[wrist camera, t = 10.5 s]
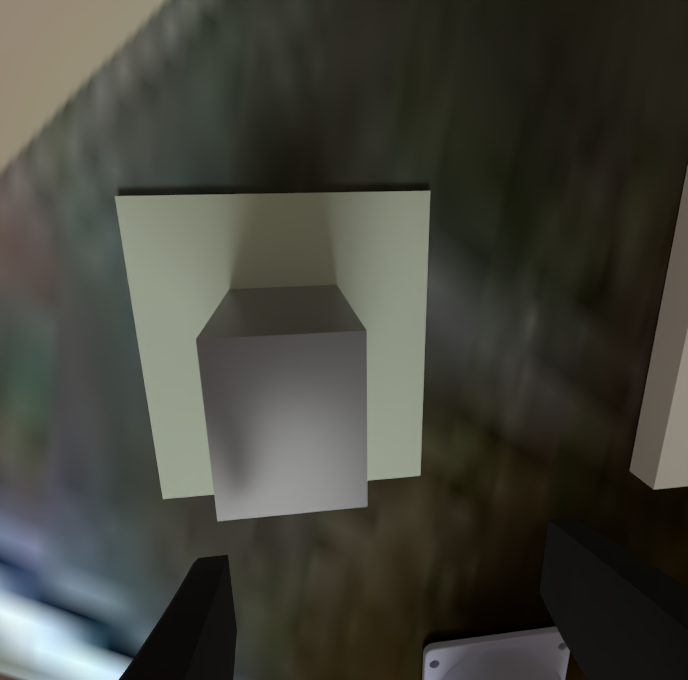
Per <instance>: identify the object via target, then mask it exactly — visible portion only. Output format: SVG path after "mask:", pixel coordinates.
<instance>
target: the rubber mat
mask: <svg viewBox="0 0 688 680" xmlns="http://www.w3.org/2000/svg"><path fill="white" fill-rule="evenodd" d="M115 201H116V207H117V213H118V220H119V226H120V232H121V239H122V245H123V251H124V257H125V264H126V270H127V276H128V282H129V289H130V295H131V301H132V308H133V314H134V320H135V326H136V333H137V339H138V345H139V352H140V358H141V364H142V370H143V377H144V383H145V389H146V395H147V402H148V408H149V414H150V421H151V427H152V433H153V439H154V446H155V452H156V458H157V464H158V471H159V477H160V483H161V490H162V496H163V499H170V498H181V497H192V496H202V495H213V494H214V487H213V479H212V471H211V462H210V454H209V446H208V437H207V429H206V421H205V412H204V404H203V396H202V387H201V379H200V371H199V362H198V354H197V346H196V338H197V337H198V335H199V334H200V332H201V331H202V329H203V328H204V326H205V325H206V323H207V322H208V320H209V319H210V317H211V316H212V314H213V313H214V311H215V310H216V308H217V307H218V305H219V304H220V302H221V301H222V299H223V298H224V296H225V295H226V293H227V292H228V290H229V289H246V288H271V287H296V286H321V285H337V286H338V287H339V289H340V290H341V292H342V293H343V295H344V296H345V298H346V299H347V301H348V303H349V304H350V306H351V307H352V309H353V310H354V312H355V313H356V315H357V316H358V318H359V320H360V321H361V323H362V324H363V326H364V327H365V329H366V330H367V480H378V479H389V478H400V477H411V476H420V471H421V443H422V415H423V386H424V358H425V329H426V301H427V273H428V244H429V216H430V191H389V192H330V193H270V194H211V195H152V196H115Z"/></svg>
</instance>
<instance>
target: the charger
mask: <svg viewBox="0 0 688 680" xmlns="http://www.w3.org/2000/svg"><path fill="white" fill-rule="evenodd" d="M196 346H197V354H198V362H199V371H200V379H201V387H202V396H203V404H204V412H205V421H206V429H207V437H208V446H209V454H210V462H211V471H212V479H213V487H214V496H215V504H216V512H217V521H225V520H235V519H246V518H256V517H266V516H276V515H287V514H297V513H307V512H317V511H328V510H338V509H348V508H358V507H367V330H366V329H365V327H364V326H363V324H362V323H361V321H360V320H359V318H358V316H357V315H356V313H355V312H354V310H353V309H352V307H351V306H350V304H349V303H348V301H347V299H346V298H345V296H344V295H343V293H342V292H341V290H340V289H339V287H338V286H337V285H321V286H296V287H271V288H246V289H229V290H228V292H227V293H226V295H225V296H224V298H223V299H222V301H221V302H220V304H219V305H218V307H217V308H216V310H215V311H214V313H213V314H212V316H211V317H210V319H209V320H208V322H207V323H206V325H205V326H204V328H203V329H202V331H201V332H200V334H199V335H198V337H197V338H196Z"/></svg>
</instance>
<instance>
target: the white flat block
mask: <svg viewBox="0 0 688 680" xmlns="http://www.w3.org/2000/svg"><path fill="white" fill-rule="evenodd" d="M629 471H630V472H631V473H633V474H634V475H635V476H637V477H638V478H639V479H641V480H642V481H643V482H644V483H646V484H647V485H648V486H650V487H651V488H652V489H653V490H655V489H665V488H675V487H684V486H688V166H687V171H686V176H685V181H684V187H683V192H682V197H681V202H680V208H679V213H678V218H677V223H676V229H675V234H674V239H673V244H672V250H671V255H670V260H669V265H668V271H667V276H666V281H665V286H664V292H663V297H662V302H661V307H660V313H659V318H658V323H657V328H656V334H655V339H654V344H653V349H652V355H651V360H650V365H649V370H648V376H647V381H646V386H645V391H644V397H643V402H642V407H641V412H640V418H639V423H638V428H637V433H636V439H635V444H634V449H633V454H632V460H631V465H630V470H629Z"/></svg>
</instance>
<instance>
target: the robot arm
mask: <svg viewBox="0 0 688 680" xmlns="http://www.w3.org/2000/svg"><path fill="white" fill-rule="evenodd" d="M539 592H540V594H541V596H542V598H543V601H544V603H545V605H546V607H547V609H548V611H549V613H550V615H551V617H552V619H553V621H554V623H555V625H556V626H555V627H547V628H540V629H532V630H525V631H517V632H510V633H503V634H495V635H488V636H480V637H473V638H466V639H458V640H451V641H443V642H436V643H431V644H428V645H427V646H426V647H425V648H424V651H423V670H422V680H565V677H566V671H567V665H568V659H569V653H570V652H571V654H572V655H573V657H574V658H575V660H576V661H577V663H578V665H579V666H580V668H581V669H582V671H583V673H584V674H585V676H586V677H587V679H588V680H688V587H687V586H685V585H683V584H682V583H680V582H678V581H677V580H675V579H673V578H672V577H670V576H668V575H667V574H665V573H663V572H662V571H660V570H659V569H657V568H655V567H654V566H652V565H650V564H649V563H647V562H646V561H644V560H642V559H641V558H639V557H638V556H636V555H634V554H633V553H631V552H630V551H628V550H626V549H625V548H623V547H622V546H620V545H618V544H617V543H615V542H613V541H612V540H610V539H609V538H607V537H605V536H604V535H602V534H601V533H599V532H597V531H596V530H594V529H592V528H591V527H589V526H587V525H586V524H584V523H582V522H580V521H579V520H577V519H575V518H565V519H556V520H548V527H547V535H546V543H545V551H544V559H543V567H542V575H541V583H540V591H539ZM236 634H237V628H236V620H235V612H234V603H233V595H232V586H231V578H230V570H229V561H228V555H222V556H213V557H204V558H198V559H197V560H196V561H195V562H194V563H193V565H192V567H191V568H190V570H189V572H188V574H187V576H186V577H185V579H184V581H183V582H182V584H181V586H180V588H179V589H178V591H177V593H176V594H175V596H174V598H173V599H172V601H171V602H170V604H169V606H168V607H167V609H166V610H165V612H164V614H163V615H162V617H161V618H160V620H159V622H158V623H157V625H156V626H155V628H154V629H153V631H152V632H151V634H150V635H149V637H148V638H147V640H146V641H145V643H144V644H143V646H142V647H141V649H140V650H139V652H138V653H137V655H136V656H135V658H134V659H133V661H132V662H131V663H130V665H129V666H128V668H127V669H126V670H125V672H124V673H123V675H122V676H121V677H120V679H119V680H233V675H234V662H235V648H236Z"/></svg>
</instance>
